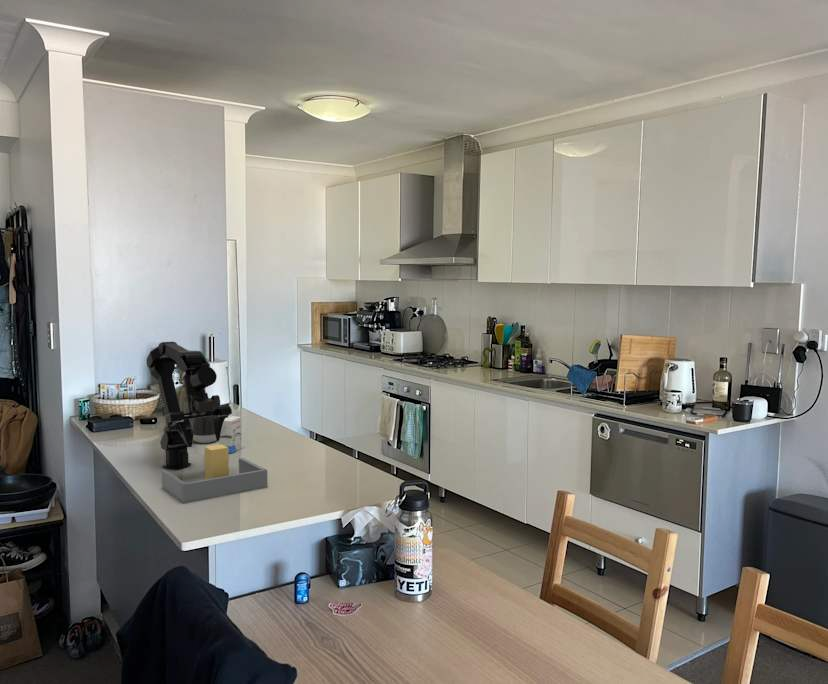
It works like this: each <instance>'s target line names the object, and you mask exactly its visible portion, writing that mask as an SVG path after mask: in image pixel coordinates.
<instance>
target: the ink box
mask: <svg viewBox="0 0 828 684" xmlns="http://www.w3.org/2000/svg"><path fill="white" fill-rule="evenodd" d="M220 444H222V445H224V446H226V447H228V455H229V454H231V455H232V454H233V453H235V452H237V451H240V450H241V449H242V417H241V416H233V415H228V418H225V420H224V422H223V425H222V429H221V434H220V439H219V441H218V445H220Z"/></svg>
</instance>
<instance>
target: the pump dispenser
mask: <svg viewBox="0 0 828 684" xmlns="http://www.w3.org/2000/svg"><path fill="white" fill-rule="evenodd" d="M218 407H220V406H218ZM215 408H216V407H215ZM195 414H197V413H195ZM204 414H205V413H204ZM213 419H215V417H214V416H208V417H201V418H193V421H192V422H191V429H192V431H193V433H194V435H193V440H195V441H196V443H199V444H210V443H214V442H215V441H217V439H216V436H215V429H214V423H213Z"/></svg>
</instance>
